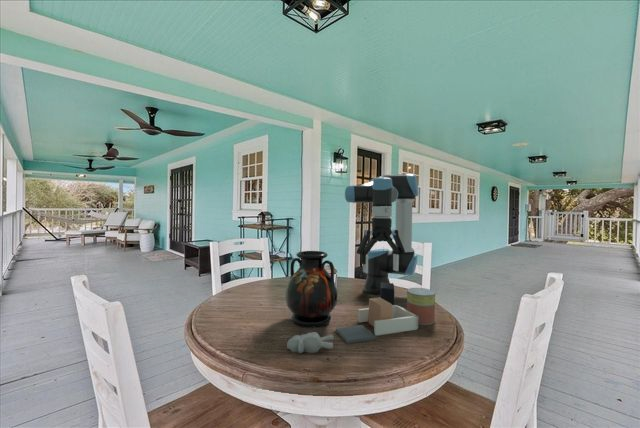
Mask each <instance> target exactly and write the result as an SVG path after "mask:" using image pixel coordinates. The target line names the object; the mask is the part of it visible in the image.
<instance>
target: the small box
mask: <svg viewBox="0 0 640 428" xmlns="http://www.w3.org/2000/svg"><path fill="white" fill-rule="evenodd" d="M379 295H380V296H379V298H382V299H384V300H385V301H387V302H389V303H391V304H392V305H395V284H394V283H393V282H392V283H391V282H390V283H383V282H381V293H380V294H379Z"/></svg>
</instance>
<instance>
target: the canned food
mask: <svg viewBox="0 0 640 428" xmlns="http://www.w3.org/2000/svg"><path fill="white" fill-rule="evenodd" d="M406 291H407V293H406V295H407V296H406V310H407V311H409V312H411V313H413V314H415V315H417V316H418V325H420V326H431V325H433V324H435V323H436V322H435V319H436V318H435V316H436V313H435V312H436V291H434V290H432V289H429V288H425V287H410V288H407V289H406Z"/></svg>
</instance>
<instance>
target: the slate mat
mask: <svg viewBox="0 0 640 428" xmlns="http://www.w3.org/2000/svg"><path fill="white" fill-rule="evenodd" d="M335 332H336V333H337V334H338V335H339V336H340V338H341V339H342V340H343V341H344V342H346V343H347V344H355V343H360V342H366V341H374V340H377V336H376V335H374V333H372V332H371V331H370V330H368V329H367V328H366V327H365V326H364V325H363V324H361V325H360V324H359V325H353V326H351V325H350V326H344V327H337V328H335Z"/></svg>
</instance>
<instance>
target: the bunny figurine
mask: <svg viewBox="0 0 640 428" xmlns="http://www.w3.org/2000/svg"><path fill="white" fill-rule="evenodd" d="M334 339H335V337H334V335H332V334H329V335H326V336H322V337H321V336H320V334H319V333H318V332H317V331H314V332H313V331H312V332H308V333H307V332H306V333H302V334H301V335H299V334H295V335H293V336H292V337H291V338H289V339H288V341H287V343H286V348H287V350H290V351H291V352H292V353H298V354H302V353H304V352H306V353H309V354H314V353H318V351H319V350H320V349H321V348H325V349H328V350H329V349H330V350H331V349H333V348H334V343H333V342H331V341H333V340H334Z"/></svg>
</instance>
